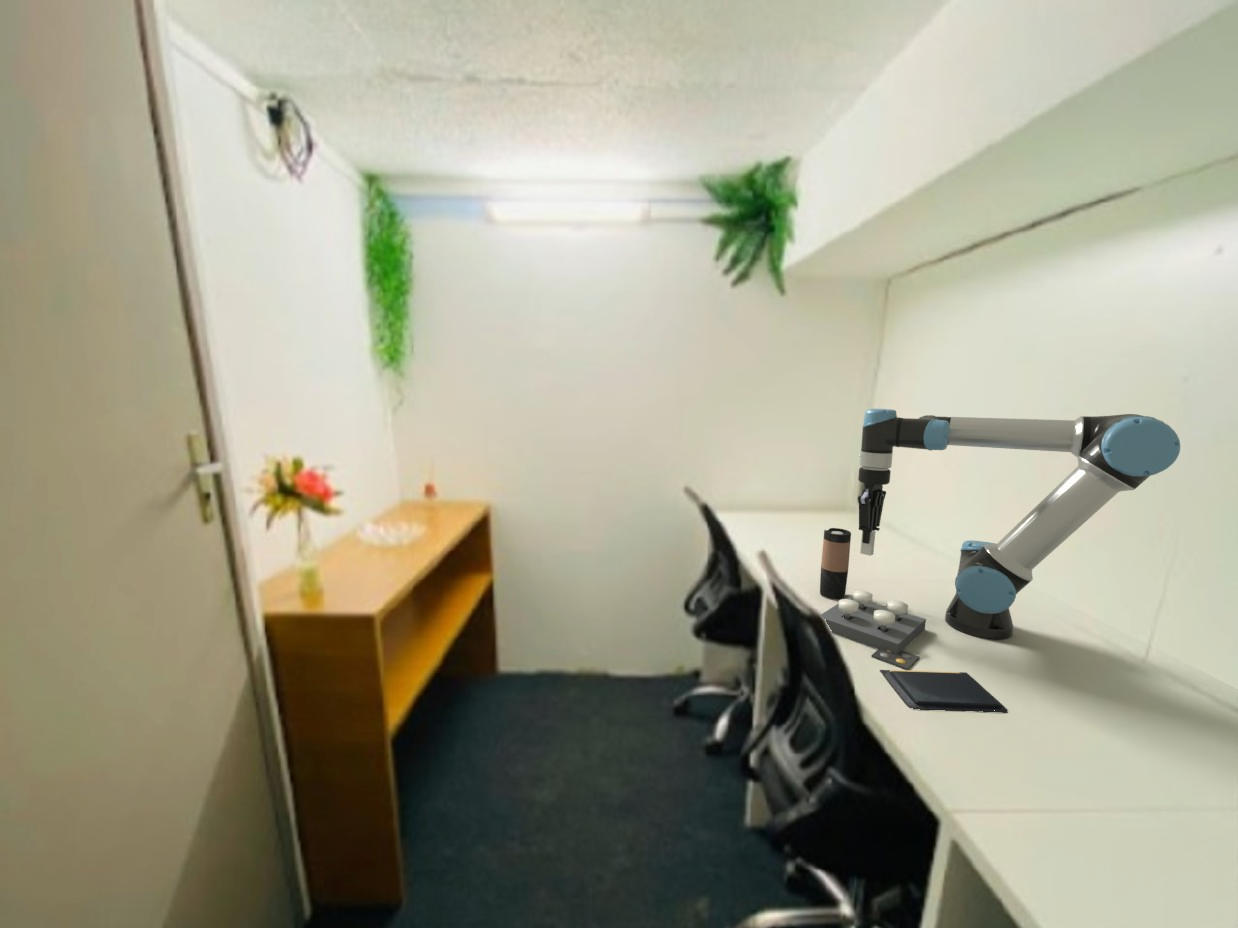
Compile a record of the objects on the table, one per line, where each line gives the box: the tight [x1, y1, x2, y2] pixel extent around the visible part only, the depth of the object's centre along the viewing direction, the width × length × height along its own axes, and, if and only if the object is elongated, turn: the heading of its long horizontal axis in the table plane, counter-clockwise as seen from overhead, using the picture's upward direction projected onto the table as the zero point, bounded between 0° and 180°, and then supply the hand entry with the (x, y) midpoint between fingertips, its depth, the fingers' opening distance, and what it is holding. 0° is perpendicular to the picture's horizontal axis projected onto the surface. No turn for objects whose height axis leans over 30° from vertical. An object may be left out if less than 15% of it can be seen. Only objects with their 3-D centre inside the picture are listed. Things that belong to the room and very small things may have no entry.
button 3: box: [852, 589, 873, 610], centre depth 148 cm, size 5×5×5 cm
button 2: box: [873, 610, 895, 632], centre depth 136 cm, size 5×5×5 cm
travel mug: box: [819, 527, 852, 601], centre depth 163 cm, size 8×8×20 cm
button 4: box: [838, 598, 859, 620], centre depth 142 cm, size 5×5×5 cm
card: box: [871, 648, 920, 670], centre depth 128 cm, size 8×8×1 cm
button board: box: [820, 595, 927, 654], centre depth 143 cm, size 20×20×3 cm
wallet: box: [879, 669, 1008, 714], centre depth 115 cm, size 20×2×15 cm
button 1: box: [886, 599, 909, 621], centre depth 142 cm, size 5×5×5 cm
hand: (866, 553), depth 146 cm, fingers closed
